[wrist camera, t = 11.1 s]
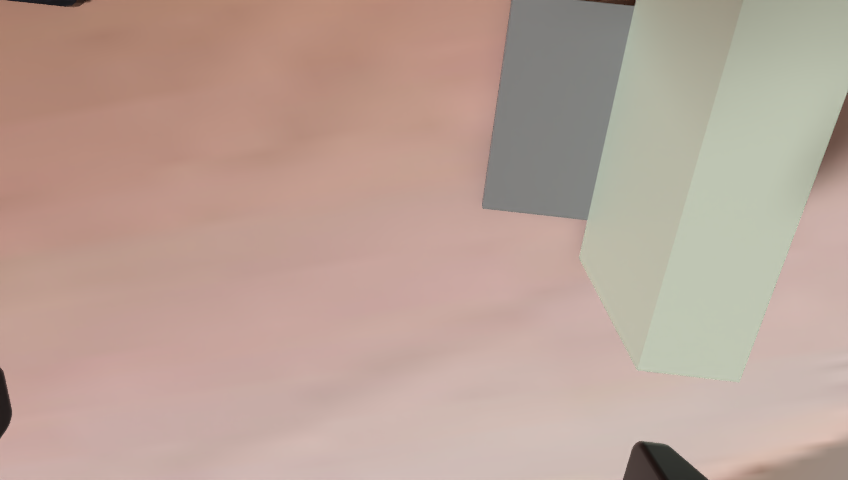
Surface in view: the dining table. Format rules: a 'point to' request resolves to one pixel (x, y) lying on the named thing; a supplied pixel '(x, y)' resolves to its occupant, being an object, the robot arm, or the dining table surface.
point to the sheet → (710, 172)
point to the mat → (554, 105)
